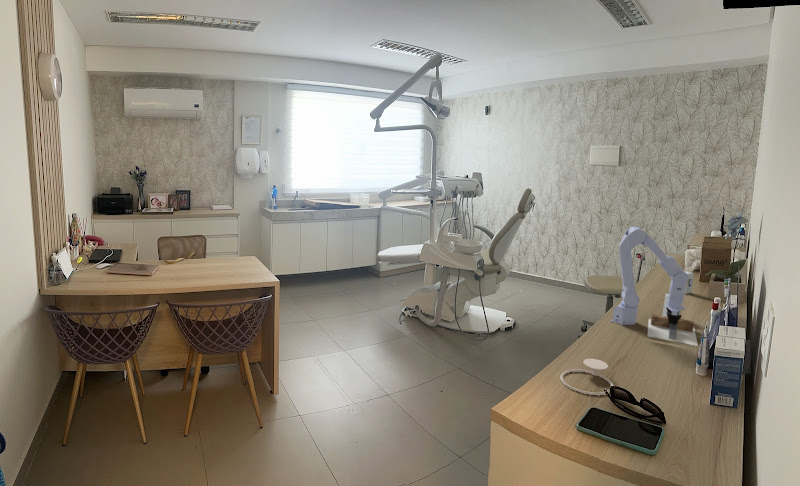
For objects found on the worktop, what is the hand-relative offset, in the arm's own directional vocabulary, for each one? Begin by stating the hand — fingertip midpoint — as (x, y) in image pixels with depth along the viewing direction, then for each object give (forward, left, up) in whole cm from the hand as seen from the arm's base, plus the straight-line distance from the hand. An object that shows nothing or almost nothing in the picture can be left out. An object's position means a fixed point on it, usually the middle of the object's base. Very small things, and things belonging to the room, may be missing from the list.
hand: (671, 326), depth 208 cm
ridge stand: (-4, -4, -2) cm, 6 cm away
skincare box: (+10, +10, -2) cm, 14 cm away
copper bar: (0, 0, -1) cm, 1 cm away
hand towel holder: (-68, -32, -2) cm, 75 cm away
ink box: (+54, +45, -2) cm, 71 cm away
